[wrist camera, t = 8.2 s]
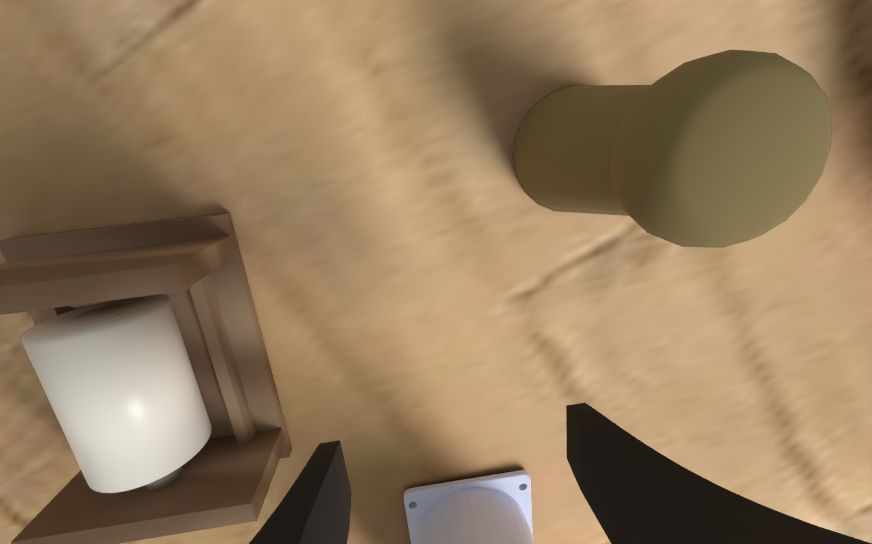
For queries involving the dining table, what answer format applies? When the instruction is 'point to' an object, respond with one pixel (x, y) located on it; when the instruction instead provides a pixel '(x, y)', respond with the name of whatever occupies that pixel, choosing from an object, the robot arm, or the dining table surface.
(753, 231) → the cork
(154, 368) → the roll
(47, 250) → the holder
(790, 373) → the dining table surface
